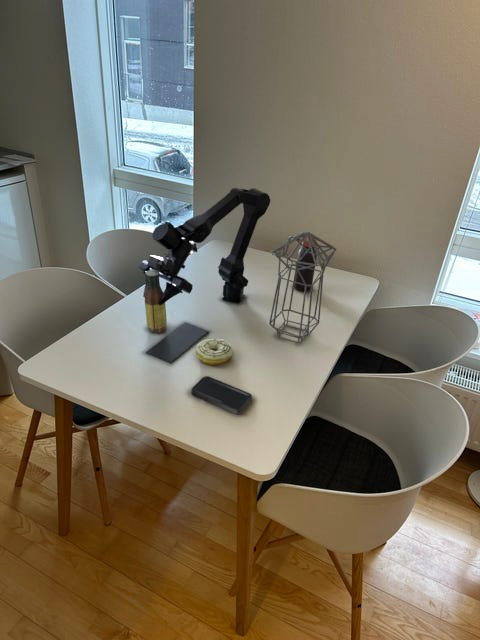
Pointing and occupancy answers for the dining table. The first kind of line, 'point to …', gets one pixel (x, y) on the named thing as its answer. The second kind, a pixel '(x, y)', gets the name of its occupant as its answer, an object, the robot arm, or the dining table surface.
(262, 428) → the dining table surface
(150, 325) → the sauce bottle
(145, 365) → the dining table surface
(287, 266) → the geometric lantern
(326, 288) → the dining table surface
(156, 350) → the mat
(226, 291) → the robot arm
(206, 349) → the decorated donut
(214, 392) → the phone
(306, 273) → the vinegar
